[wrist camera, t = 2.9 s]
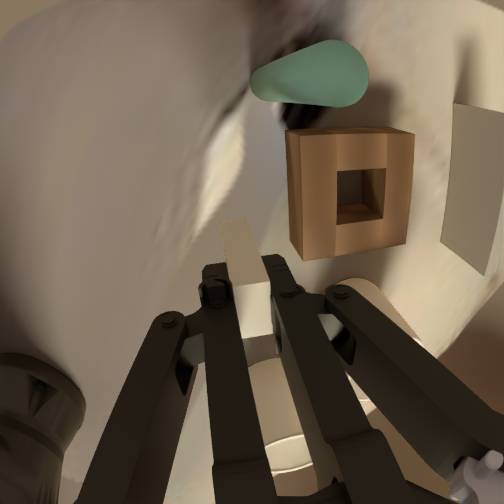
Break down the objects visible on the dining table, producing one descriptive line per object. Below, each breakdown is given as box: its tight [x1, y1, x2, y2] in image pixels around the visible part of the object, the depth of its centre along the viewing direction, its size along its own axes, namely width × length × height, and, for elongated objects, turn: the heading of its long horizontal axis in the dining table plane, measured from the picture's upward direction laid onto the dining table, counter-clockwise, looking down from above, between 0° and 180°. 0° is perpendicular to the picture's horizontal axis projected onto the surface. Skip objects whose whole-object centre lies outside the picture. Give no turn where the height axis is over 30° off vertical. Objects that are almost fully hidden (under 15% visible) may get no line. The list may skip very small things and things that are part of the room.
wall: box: [440, 103, 504, 276], centre depth 26 cm, size 2×16×8 cm, turn 4°
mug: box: [248, 358, 313, 473], centre depth 35 cm, size 14×10×11 cm
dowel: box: [250, 40, 369, 107], centre depth 17 cm, size 3×3×13 cm
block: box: [285, 127, 415, 262], centre depth 26 cm, size 10×10×4 cm
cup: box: [324, 278, 424, 401], centre depth 31 cm, size 8×12×10 cm
